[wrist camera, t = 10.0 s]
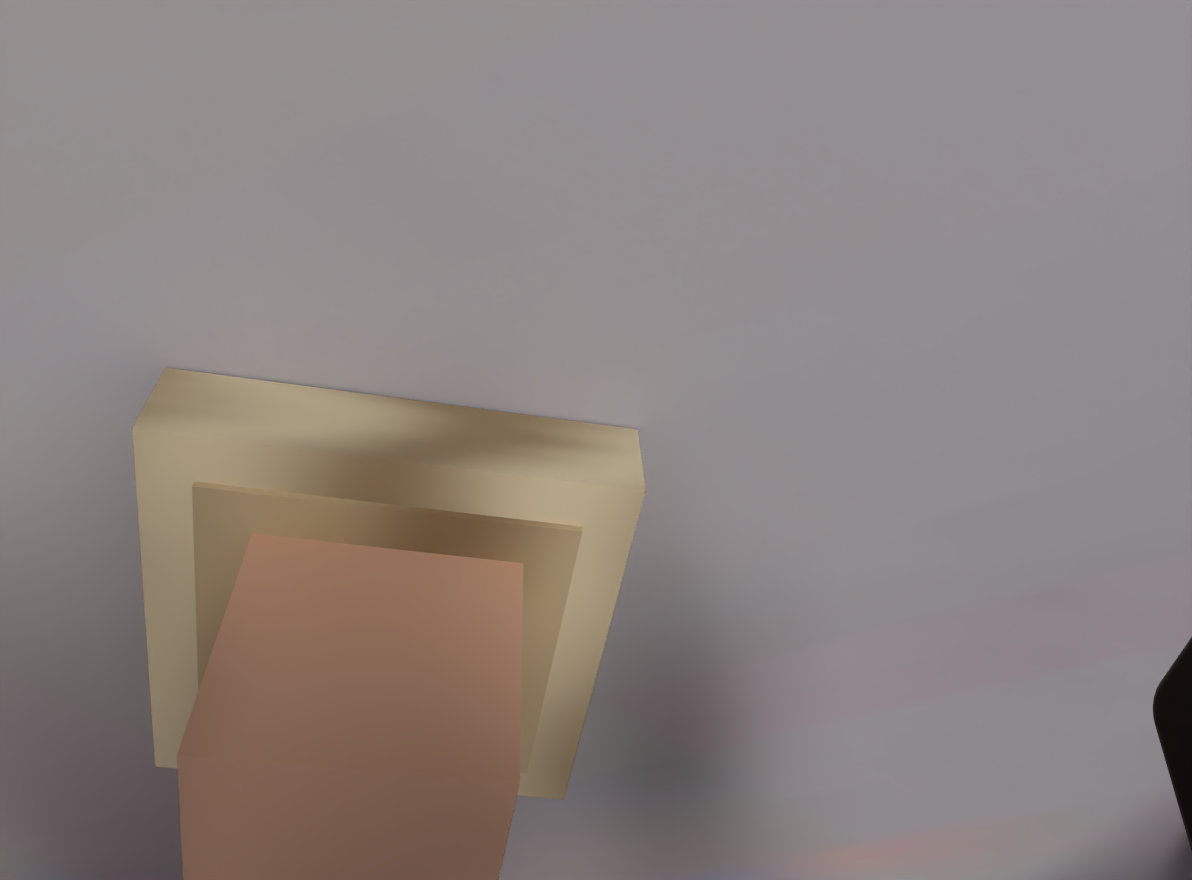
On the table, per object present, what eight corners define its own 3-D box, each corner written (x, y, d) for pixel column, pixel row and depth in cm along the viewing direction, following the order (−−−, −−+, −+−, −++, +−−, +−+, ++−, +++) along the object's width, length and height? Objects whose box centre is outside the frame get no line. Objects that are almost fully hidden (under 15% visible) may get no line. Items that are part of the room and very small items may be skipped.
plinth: (637, 429, 21) (646, 495, 20) (562, 730, 26) (563, 805, 25) (165, 367, 20) (129, 432, 18) (180, 695, 25) (153, 772, 23)
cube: (524, 563, 20) (519, 783, 16) (489, 737, 23) (479, 962, 19) (251, 533, 20) (176, 755, 16) (250, 717, 22) (186, 945, 18)
